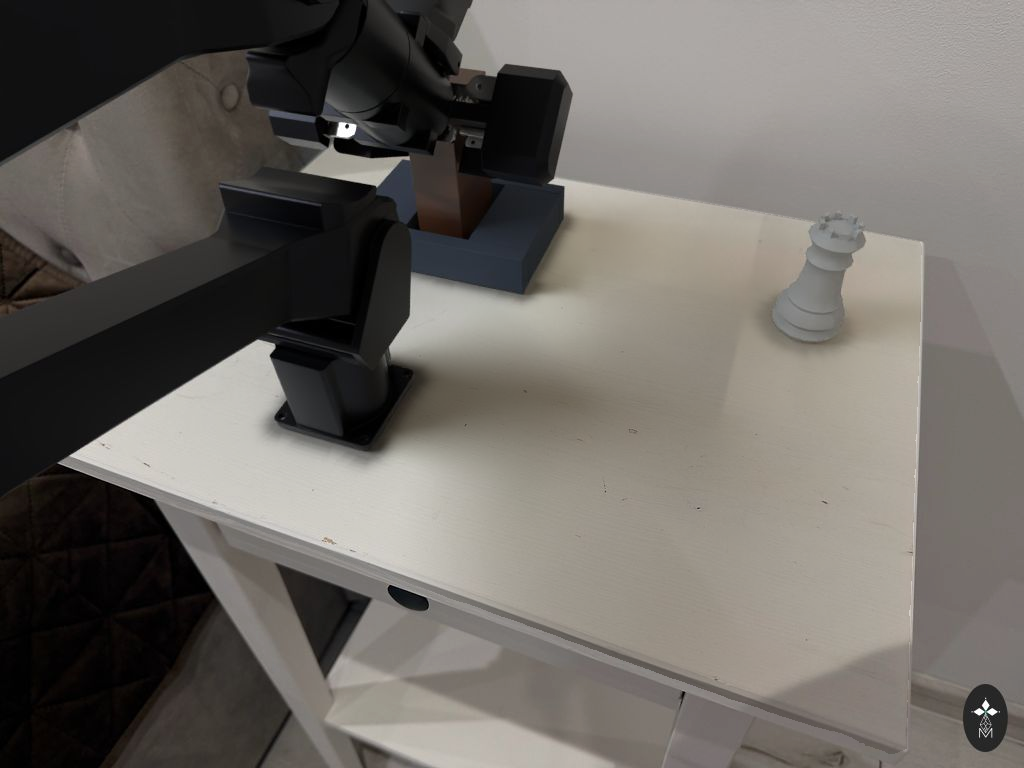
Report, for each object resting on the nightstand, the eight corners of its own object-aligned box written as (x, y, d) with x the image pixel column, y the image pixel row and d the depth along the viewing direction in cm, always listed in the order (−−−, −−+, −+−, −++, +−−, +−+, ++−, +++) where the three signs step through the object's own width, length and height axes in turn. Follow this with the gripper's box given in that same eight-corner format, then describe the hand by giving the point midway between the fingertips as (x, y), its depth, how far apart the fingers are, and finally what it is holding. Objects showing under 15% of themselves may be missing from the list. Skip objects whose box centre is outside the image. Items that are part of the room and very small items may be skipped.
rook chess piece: (853, 333, 46) (899, 231, 40) (800, 355, 45) (840, 253, 39) (806, 294, 49) (843, 194, 43) (755, 314, 47) (786, 213, 42)
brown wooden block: (494, 221, 56) (485, 70, 47) (465, 264, 52) (451, 109, 43) (454, 213, 57) (439, 64, 48) (423, 255, 53) (400, 102, 44)
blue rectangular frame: (523, 295, 50) (522, 261, 47) (350, 258, 53) (342, 225, 51) (563, 218, 56) (564, 185, 54) (407, 190, 59) (402, 158, 57)
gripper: (569, -93, 33) (609, 55, 48) (235, -114, 37) (368, 28, 52) (516, 143, 33) (573, 216, 48) (196, 94, 38) (338, 174, 53)
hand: (459, 152), depth 51 cm, fingers open, 5 cm apart
